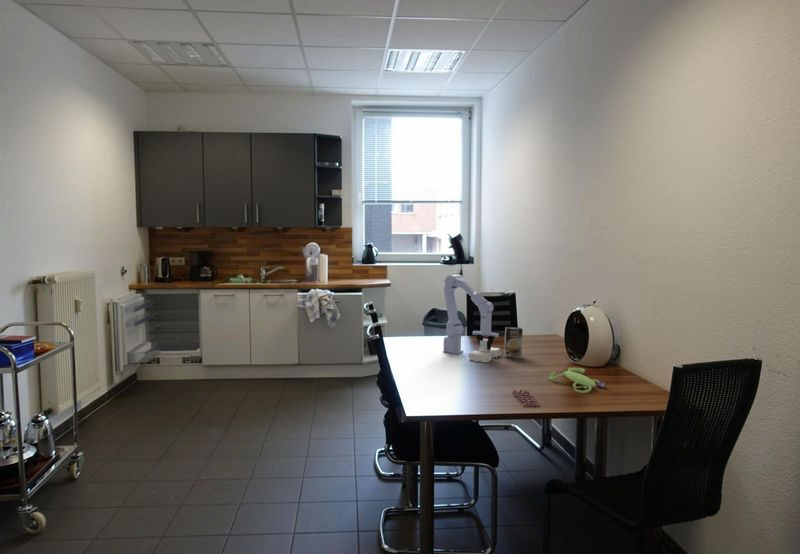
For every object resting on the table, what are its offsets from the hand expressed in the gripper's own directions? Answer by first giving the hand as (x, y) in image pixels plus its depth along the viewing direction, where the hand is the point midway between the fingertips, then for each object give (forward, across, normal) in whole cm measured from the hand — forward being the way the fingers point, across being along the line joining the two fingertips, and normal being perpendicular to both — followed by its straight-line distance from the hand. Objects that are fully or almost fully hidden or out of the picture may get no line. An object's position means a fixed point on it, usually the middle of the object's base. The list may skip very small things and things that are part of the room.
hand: (485, 349), depth 302 cm
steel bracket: (+3, 0, 0) cm, 3 cm away
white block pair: (+5, 0, 0) cm, 5 cm away
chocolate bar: (+6, +41, -61) cm, 74 cm away
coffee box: (+5, +12, +11) cm, 17 cm away
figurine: (+6, +54, -25) cm, 60 cm away
